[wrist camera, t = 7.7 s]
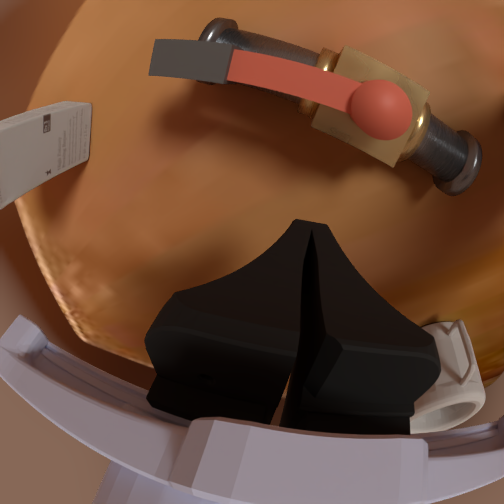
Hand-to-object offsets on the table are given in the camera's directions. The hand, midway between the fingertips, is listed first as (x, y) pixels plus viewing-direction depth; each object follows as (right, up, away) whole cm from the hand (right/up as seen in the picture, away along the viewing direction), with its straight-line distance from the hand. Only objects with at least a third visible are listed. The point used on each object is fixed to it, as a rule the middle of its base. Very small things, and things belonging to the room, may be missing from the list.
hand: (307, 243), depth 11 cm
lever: (-1, +8, +1) cm, 8 cm away
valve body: (+5, +10, +4) cm, 12 cm away
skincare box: (-19, +12, +10) cm, 24 cm away
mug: (+19, -11, +15) cm, 27 cm away
